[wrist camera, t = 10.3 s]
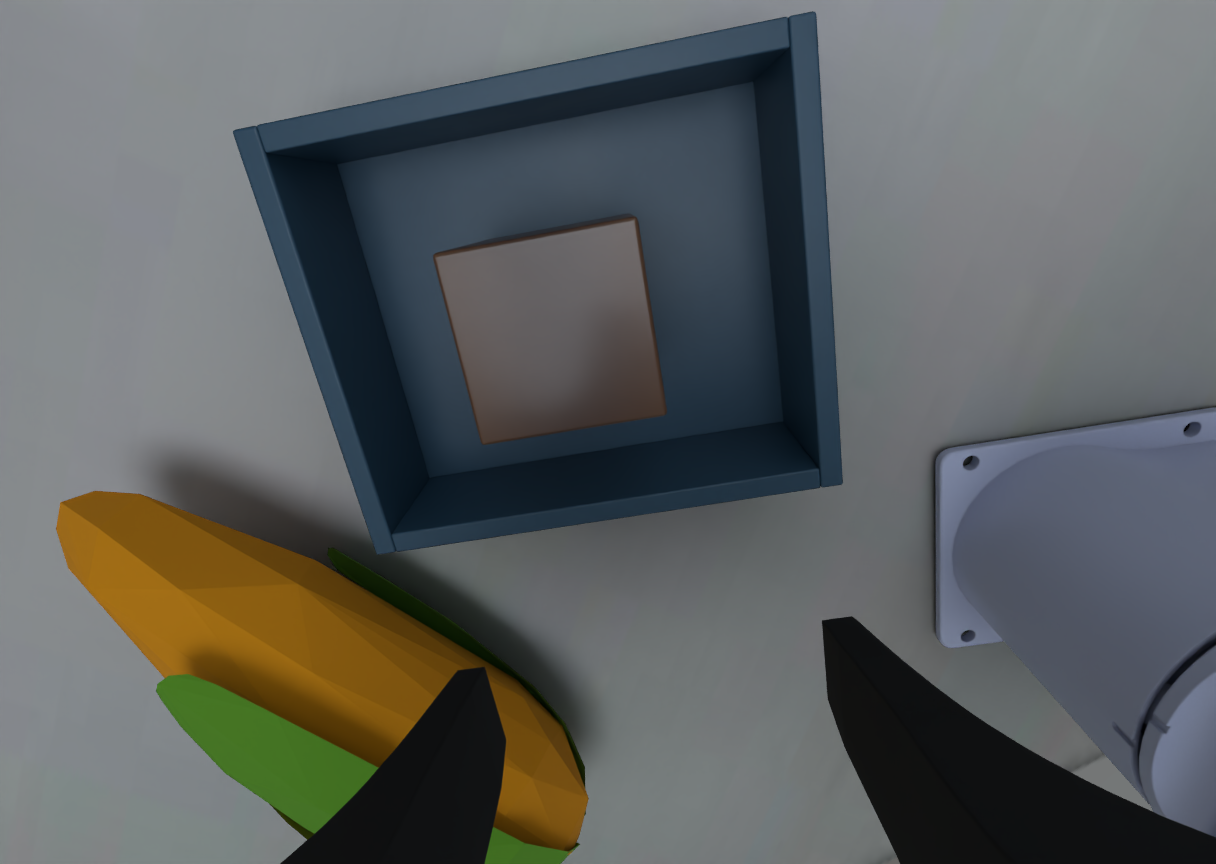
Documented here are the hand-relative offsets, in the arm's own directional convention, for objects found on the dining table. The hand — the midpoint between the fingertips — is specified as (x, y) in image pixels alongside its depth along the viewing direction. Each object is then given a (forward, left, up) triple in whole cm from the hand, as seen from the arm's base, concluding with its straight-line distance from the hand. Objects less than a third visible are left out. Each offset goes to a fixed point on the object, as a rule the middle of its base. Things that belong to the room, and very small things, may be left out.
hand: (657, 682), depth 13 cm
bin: (+1, -7, -9) cm, 12 cm away
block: (+1, -7, -9) cm, 11 cm away
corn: (+11, +4, -10) cm, 15 cm away
